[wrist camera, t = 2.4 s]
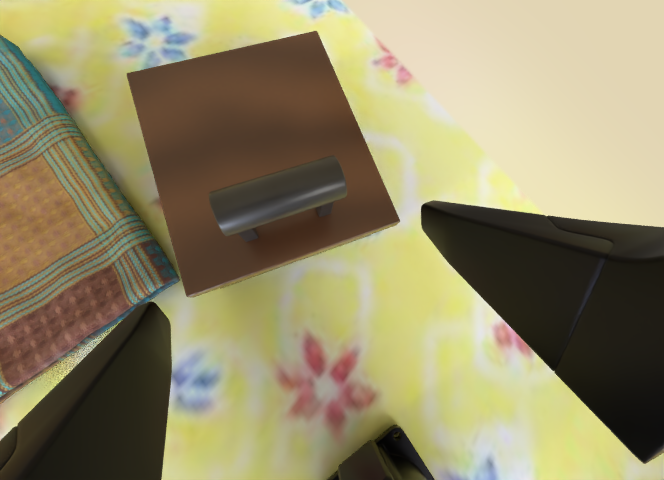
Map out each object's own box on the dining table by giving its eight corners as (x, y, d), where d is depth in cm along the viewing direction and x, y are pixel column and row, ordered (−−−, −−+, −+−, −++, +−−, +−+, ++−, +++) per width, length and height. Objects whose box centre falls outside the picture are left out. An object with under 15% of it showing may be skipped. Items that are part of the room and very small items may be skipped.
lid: (396, 225, 16) (439, 186, 11) (192, 298, 14) (124, 294, 9) (316, 41, 18) (319, -64, 13) (133, 83, 17) (53, -19, 11)
